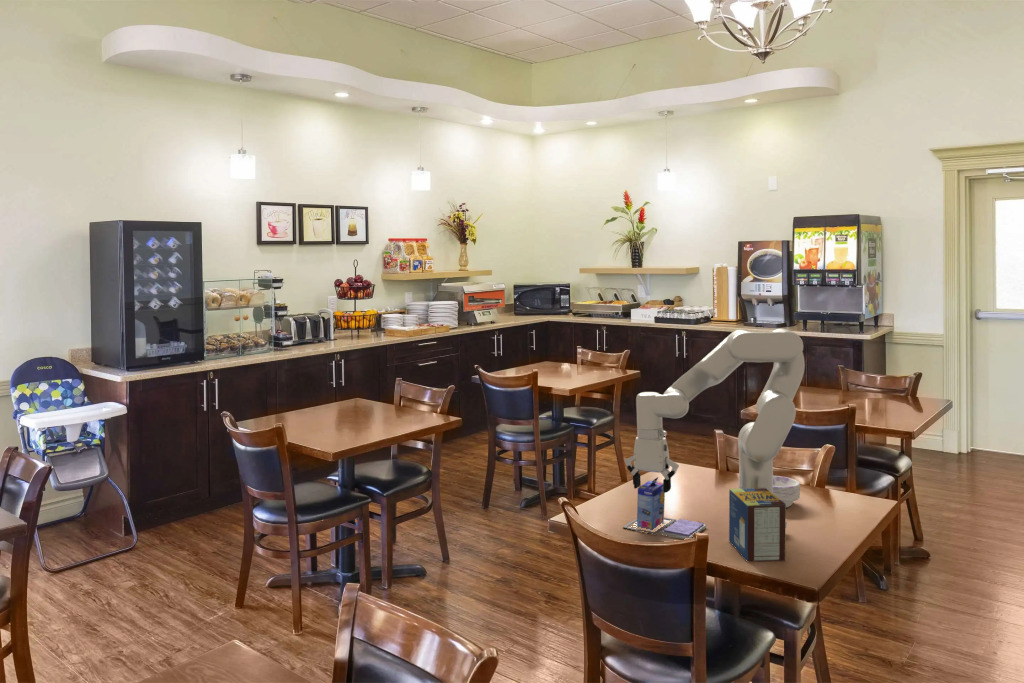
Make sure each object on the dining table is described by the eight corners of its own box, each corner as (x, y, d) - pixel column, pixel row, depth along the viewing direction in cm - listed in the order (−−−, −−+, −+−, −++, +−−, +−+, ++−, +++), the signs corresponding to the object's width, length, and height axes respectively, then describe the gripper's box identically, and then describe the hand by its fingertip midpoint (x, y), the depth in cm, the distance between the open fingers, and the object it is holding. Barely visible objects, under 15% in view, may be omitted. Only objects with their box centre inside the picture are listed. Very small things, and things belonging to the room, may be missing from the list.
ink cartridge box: (653, 530, 227) (653, 482, 225) (636, 527, 229) (636, 480, 228) (665, 521, 235) (665, 474, 234) (648, 518, 238) (648, 472, 236)
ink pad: (706, 527, 229) (706, 523, 228) (689, 540, 218) (689, 535, 218) (678, 522, 234) (678, 518, 233) (661, 535, 223) (661, 530, 223)
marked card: (675, 521, 235) (675, 519, 235) (655, 535, 223) (655, 533, 223) (644, 515, 241) (644, 513, 241) (622, 528, 229) (622, 526, 229)
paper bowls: (792, 497, 257) (792, 474, 256) (805, 511, 242) (805, 487, 241) (746, 497, 258) (746, 473, 258) (755, 511, 243) (756, 486, 242)
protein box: (764, 540, 218) (765, 487, 216) (785, 561, 202) (786, 503, 201) (728, 541, 217) (728, 488, 216) (746, 562, 202) (747, 505, 200)
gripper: (682, 433, 228) (683, 489, 229) (629, 428, 238) (631, 482, 239) (671, 438, 222) (673, 496, 223) (618, 433, 232) (620, 489, 233)
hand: (651, 489), depth 231 cm, fingers open, 9 cm apart
